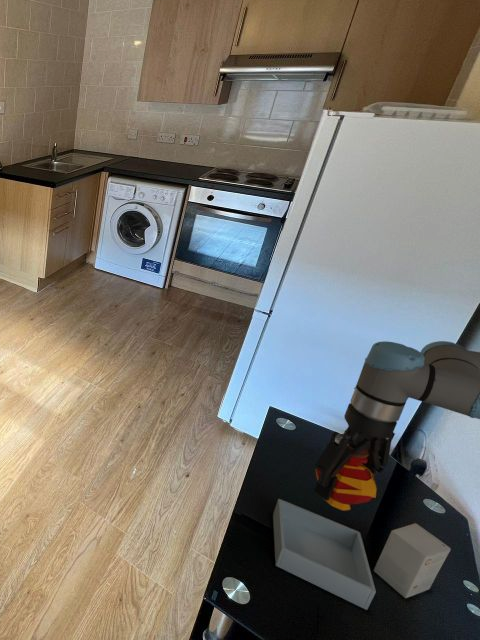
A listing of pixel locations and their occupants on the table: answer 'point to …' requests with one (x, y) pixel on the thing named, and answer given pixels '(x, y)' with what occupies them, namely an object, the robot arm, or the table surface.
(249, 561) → the table surface
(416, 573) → the small box
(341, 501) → the potion bottle
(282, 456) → the table surface
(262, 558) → the table surface
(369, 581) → the gray square tray
